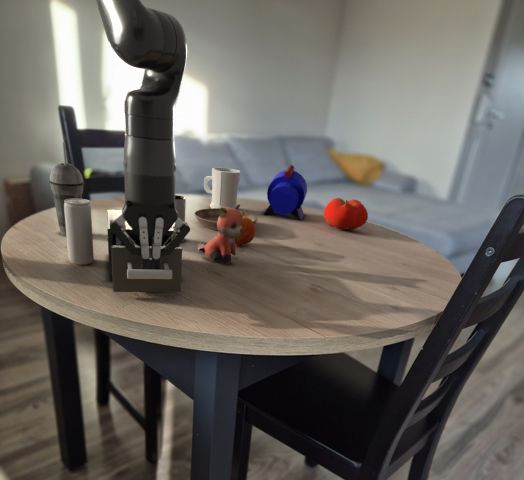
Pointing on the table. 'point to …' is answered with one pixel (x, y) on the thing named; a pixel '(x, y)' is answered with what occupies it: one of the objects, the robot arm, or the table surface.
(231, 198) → the cup
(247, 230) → the fruit
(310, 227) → the table surface
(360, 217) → the tomato
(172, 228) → the cabinet
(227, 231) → the stuffed fox
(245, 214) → the plant saucer
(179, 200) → the grey hollow cylinder
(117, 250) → the drawer
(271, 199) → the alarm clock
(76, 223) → the beverage can
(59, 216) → the beverage cup
